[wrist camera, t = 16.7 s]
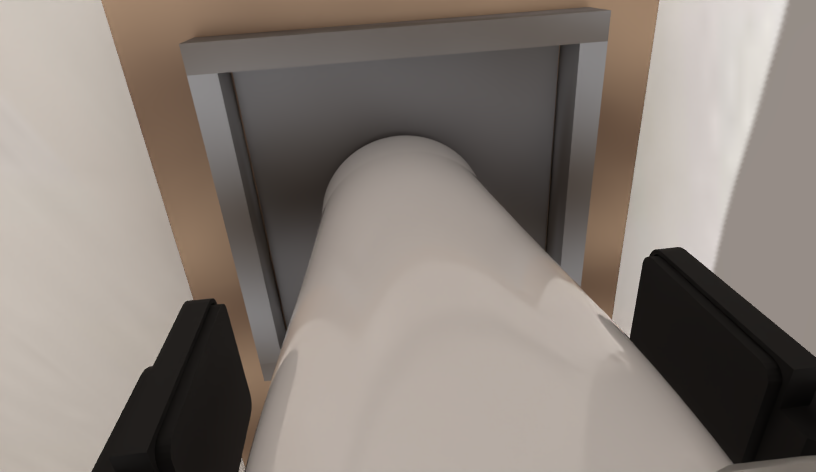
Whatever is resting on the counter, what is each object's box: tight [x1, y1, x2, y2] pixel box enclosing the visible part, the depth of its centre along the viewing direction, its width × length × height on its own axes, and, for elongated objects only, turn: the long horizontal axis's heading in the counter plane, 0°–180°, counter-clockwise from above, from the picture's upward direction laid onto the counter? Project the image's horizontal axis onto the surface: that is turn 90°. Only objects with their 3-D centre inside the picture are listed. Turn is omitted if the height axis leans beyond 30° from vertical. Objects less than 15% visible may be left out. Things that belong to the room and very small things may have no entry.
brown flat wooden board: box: [101, 0, 659, 468], centre depth 20 cm, size 22×16×4 cm
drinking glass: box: [245, 135, 734, 472], centre depth 11 cm, size 7×7×15 cm
